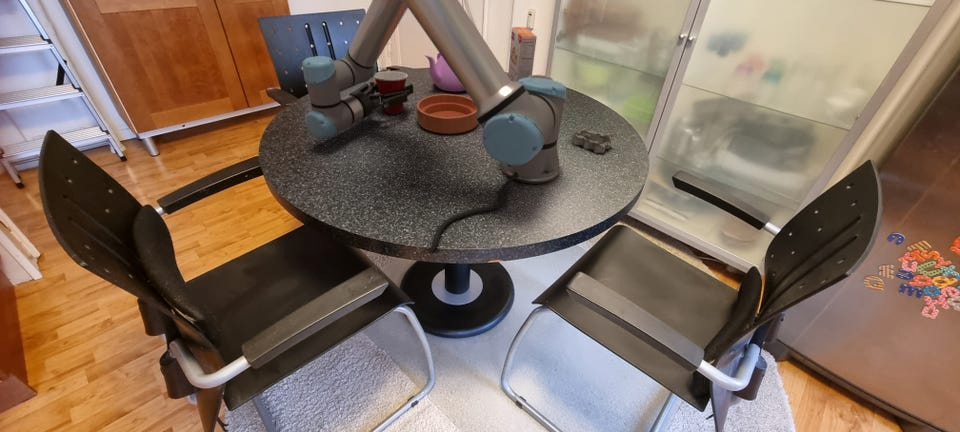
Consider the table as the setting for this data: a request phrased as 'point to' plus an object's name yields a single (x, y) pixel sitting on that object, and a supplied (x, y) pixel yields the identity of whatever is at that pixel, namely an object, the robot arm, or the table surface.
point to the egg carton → (592, 140)
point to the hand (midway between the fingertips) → (400, 85)
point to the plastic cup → (391, 86)
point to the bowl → (447, 113)
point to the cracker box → (521, 53)
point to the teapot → (444, 75)
